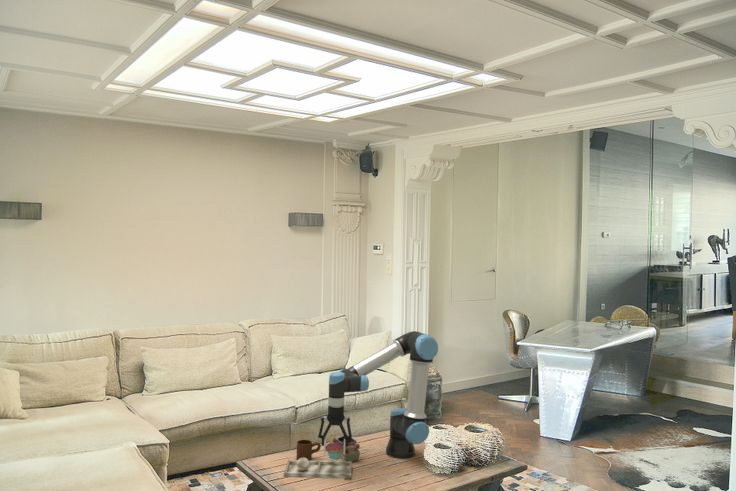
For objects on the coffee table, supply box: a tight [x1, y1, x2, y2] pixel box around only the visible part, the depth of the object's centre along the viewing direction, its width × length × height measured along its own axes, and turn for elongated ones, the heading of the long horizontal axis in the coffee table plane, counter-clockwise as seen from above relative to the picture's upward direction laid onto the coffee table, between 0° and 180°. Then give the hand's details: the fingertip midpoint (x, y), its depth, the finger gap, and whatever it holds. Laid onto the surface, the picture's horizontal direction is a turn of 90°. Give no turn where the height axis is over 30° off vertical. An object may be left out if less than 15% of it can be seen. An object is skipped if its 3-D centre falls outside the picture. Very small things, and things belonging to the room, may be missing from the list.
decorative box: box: [332, 434, 361, 463], centre depth 312 cm, size 13×20×10 cm, turn 19°
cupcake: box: [326, 434, 344, 461], centre depth 290 cm, size 9×8×12 cm
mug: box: [296, 439, 322, 461], centre depth 305 cm, size 12×8×9 cm, turn 99°
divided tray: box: [283, 459, 352, 481], centre depth 290 cm, size 31×16×2 cm, turn 91°
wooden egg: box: [297, 457, 309, 471], centre depth 290 cm, size 6×6×6 cm
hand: (334, 452), depth 290 cm, fingers closed on cupcake, 8 cm apart
